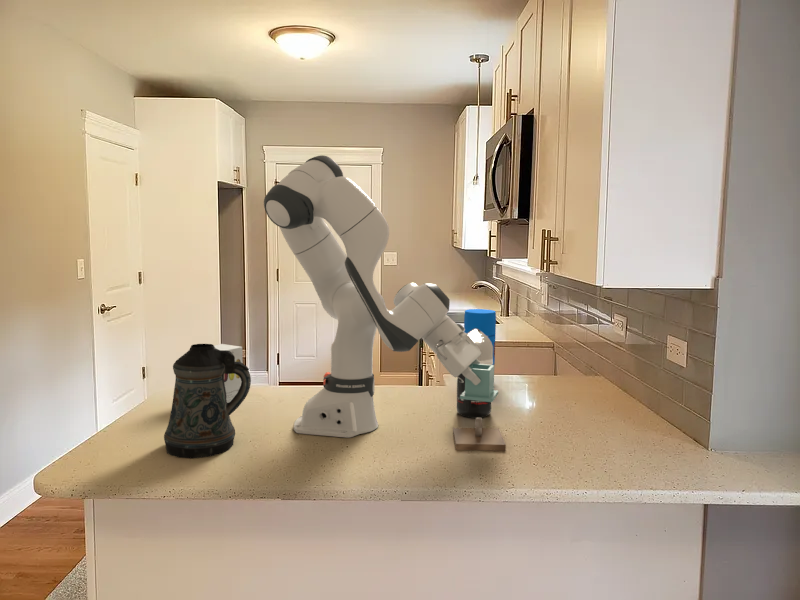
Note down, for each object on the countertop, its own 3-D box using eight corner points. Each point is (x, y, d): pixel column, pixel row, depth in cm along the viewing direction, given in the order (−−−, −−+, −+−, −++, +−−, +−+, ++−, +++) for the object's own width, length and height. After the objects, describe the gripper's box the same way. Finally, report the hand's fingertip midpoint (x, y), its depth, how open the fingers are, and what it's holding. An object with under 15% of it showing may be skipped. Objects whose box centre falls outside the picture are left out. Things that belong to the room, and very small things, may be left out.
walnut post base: (455, 449, 148) (456, 425, 147) (452, 433, 160) (453, 410, 159) (505, 450, 148) (506, 426, 147) (498, 433, 160) (499, 411, 159)
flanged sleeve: (459, 398, 150) (460, 368, 149) (467, 390, 157) (467, 362, 156) (492, 402, 147) (493, 371, 146) (498, 393, 154) (499, 364, 154)
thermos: (477, 376, 220) (479, 308, 217) (500, 382, 212) (502, 311, 209) (456, 381, 213) (457, 310, 210) (479, 388, 205) (481, 314, 202)
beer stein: (154, 444, 150) (150, 344, 147) (229, 428, 162) (227, 335, 159) (179, 464, 137) (175, 355, 134) (258, 445, 149) (256, 345, 146)
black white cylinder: (498, 417, 174) (500, 330, 171) (466, 420, 170) (468, 332, 167) (480, 407, 183) (482, 324, 180) (449, 410, 179) (451, 326, 176)
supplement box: (220, 407, 180) (219, 351, 178) (199, 402, 185) (197, 348, 183) (244, 399, 188) (243, 346, 186) (222, 395, 193) (221, 343, 191)
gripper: (442, 336, 143) (482, 381, 141) (462, 323, 162) (498, 362, 160) (423, 354, 145) (463, 398, 143) (446, 339, 164) (481, 377, 162)
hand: (482, 379), depth 151 cm, fingers closed on flanged sleeve, 6 cm apart
